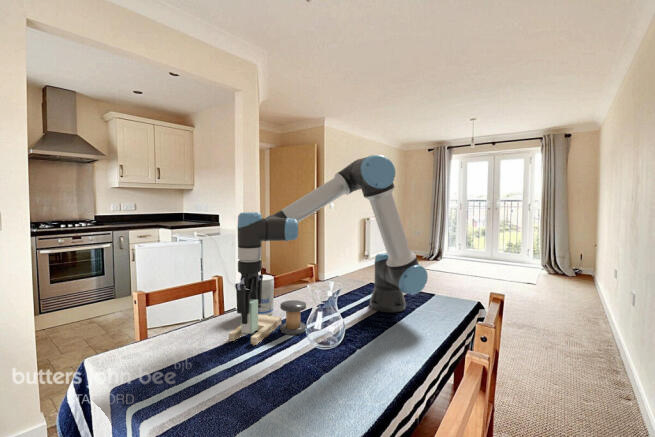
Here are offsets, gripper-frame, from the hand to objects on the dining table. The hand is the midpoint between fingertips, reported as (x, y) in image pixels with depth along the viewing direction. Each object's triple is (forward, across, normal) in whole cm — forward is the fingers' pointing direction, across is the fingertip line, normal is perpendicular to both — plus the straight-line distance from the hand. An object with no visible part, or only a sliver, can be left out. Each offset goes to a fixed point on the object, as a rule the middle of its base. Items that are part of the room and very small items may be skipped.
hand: (249, 329), depth 104 cm
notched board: (+3, -4, 0) cm, 5 cm away
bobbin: (+3, -10, +11) cm, 15 cm away
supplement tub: (+3, -20, -7) cm, 22 cm away
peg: (0, 0, 0) cm, 0 cm away
